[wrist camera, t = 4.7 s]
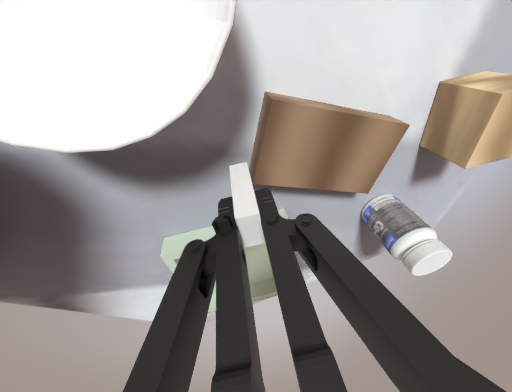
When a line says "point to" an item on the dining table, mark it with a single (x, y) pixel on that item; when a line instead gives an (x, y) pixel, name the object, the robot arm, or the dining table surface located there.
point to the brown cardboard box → (321, 145)
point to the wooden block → (471, 119)
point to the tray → (255, 258)
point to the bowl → (104, 68)
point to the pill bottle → (405, 235)
